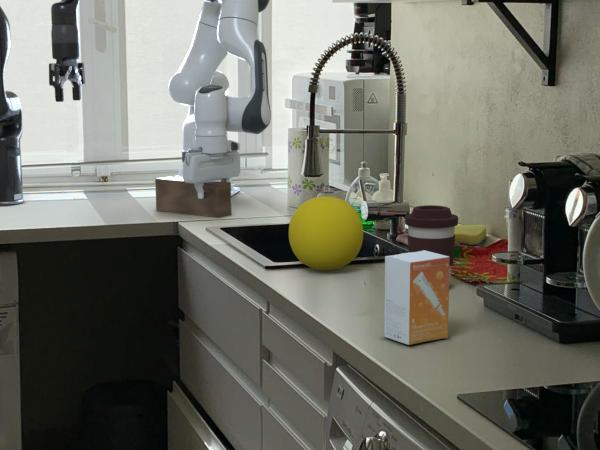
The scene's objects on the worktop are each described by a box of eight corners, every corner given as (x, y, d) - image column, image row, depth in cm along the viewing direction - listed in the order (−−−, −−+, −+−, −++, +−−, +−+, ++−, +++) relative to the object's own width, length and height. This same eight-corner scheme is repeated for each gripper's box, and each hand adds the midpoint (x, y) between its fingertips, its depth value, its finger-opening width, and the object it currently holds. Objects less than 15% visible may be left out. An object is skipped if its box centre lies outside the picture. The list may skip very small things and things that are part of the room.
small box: (409, 346, 158) (409, 262, 156) (383, 337, 163) (383, 255, 161) (449, 337, 162) (450, 255, 160) (423, 329, 168) (424, 249, 166)
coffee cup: (400, 280, 202) (400, 204, 200) (450, 279, 203) (451, 203, 201) (409, 292, 193) (410, 212, 190) (462, 291, 193) (463, 211, 191)
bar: (156, 210, 296) (155, 178, 294) (169, 207, 300) (168, 176, 298) (218, 217, 282) (218, 184, 281) (231, 214, 286) (230, 182, 285)
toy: (345, 259, 223) (344, 190, 221) (374, 273, 209) (374, 199, 207) (278, 265, 218) (278, 194, 216) (304, 279, 204) (304, 204, 202)
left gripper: (62, 41, 278) (65, 102, 281) (91, 41, 291) (93, 99, 294) (38, 41, 281) (42, 102, 284) (68, 41, 294) (70, 99, 297)
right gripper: (194, 149, 273) (195, 202, 276) (243, 143, 290) (244, 193, 292) (176, 148, 277) (178, 200, 279) (226, 142, 293) (227, 191, 296)
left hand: (68, 101), depth 289 cm, fingers open, 8 cm apart
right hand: (212, 196), depth 286 cm, fingers open, 7 cm apart
